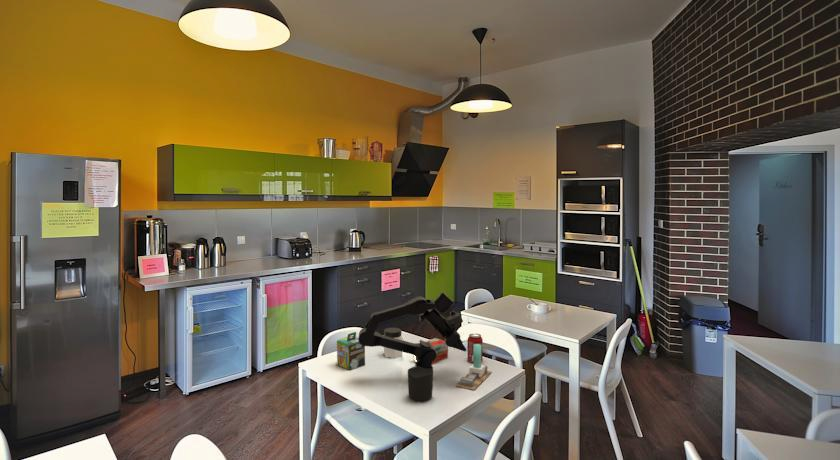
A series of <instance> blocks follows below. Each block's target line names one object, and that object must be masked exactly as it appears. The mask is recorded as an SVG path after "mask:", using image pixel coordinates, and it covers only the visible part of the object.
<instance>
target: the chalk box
mask: <svg viewBox="0 0 840 460" xmlns="http://www.w3.org/2000/svg"><path fill="white" fill-rule="evenodd" d="M336 354H337V355H336V357H337V359H336V360H337V361H336V362H337V363H336V365H337V366H338V365H339V367H341V368H343V369H345V368H346V370H348V371H351V370H354V369H356V368H357V369H358V368H360V367H364V366H365V365H366V346H363V345H361V344H360V342H359V336H358V337H357V331H355V332H351V333H348V334H347V337H343V338H340V339H338V340H336Z"/></svg>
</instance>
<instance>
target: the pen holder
mask: <svg viewBox="0 0 840 460" xmlns="http://www.w3.org/2000/svg"><path fill="white" fill-rule="evenodd" d="M433 381H434V368H433V369H431V368H429V369H424V368H421V367H415V366H412V367H410V368H408V369H407V386H408V398H409V399H410V400H411V401H412V402H416V403H424V402H428V401H430V400H431V399H432V398H433V389H434V388H433V387H434V382H433Z"/></svg>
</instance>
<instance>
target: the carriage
mask: <svg viewBox="0 0 840 460" xmlns="http://www.w3.org/2000/svg"><path fill="white" fill-rule="evenodd" d="M484 365H485V364H482V361H481V345H480V344H474V348H473V363H472V365H471V366H469V367H468V368H469V370H468V373H469V372H470V375H471V374H472V373H478V374H479V377H481V376H482V375H483V374H484V373H485V366H486V365H485V366H484Z"/></svg>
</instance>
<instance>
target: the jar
mask: <svg viewBox="0 0 840 460" xmlns="http://www.w3.org/2000/svg"><path fill="white" fill-rule="evenodd" d="M383 335H384V336H388V337H391V338H395V339H399V340H403V336H402V329H401V328H399V327H388V328H385V329H383ZM383 355H384V357H385V358H388V357H391V359H396V357H397V358H399V357H402V356H403V352H401V351H397V350H393V349H390V348H386V347H383Z"/></svg>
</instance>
